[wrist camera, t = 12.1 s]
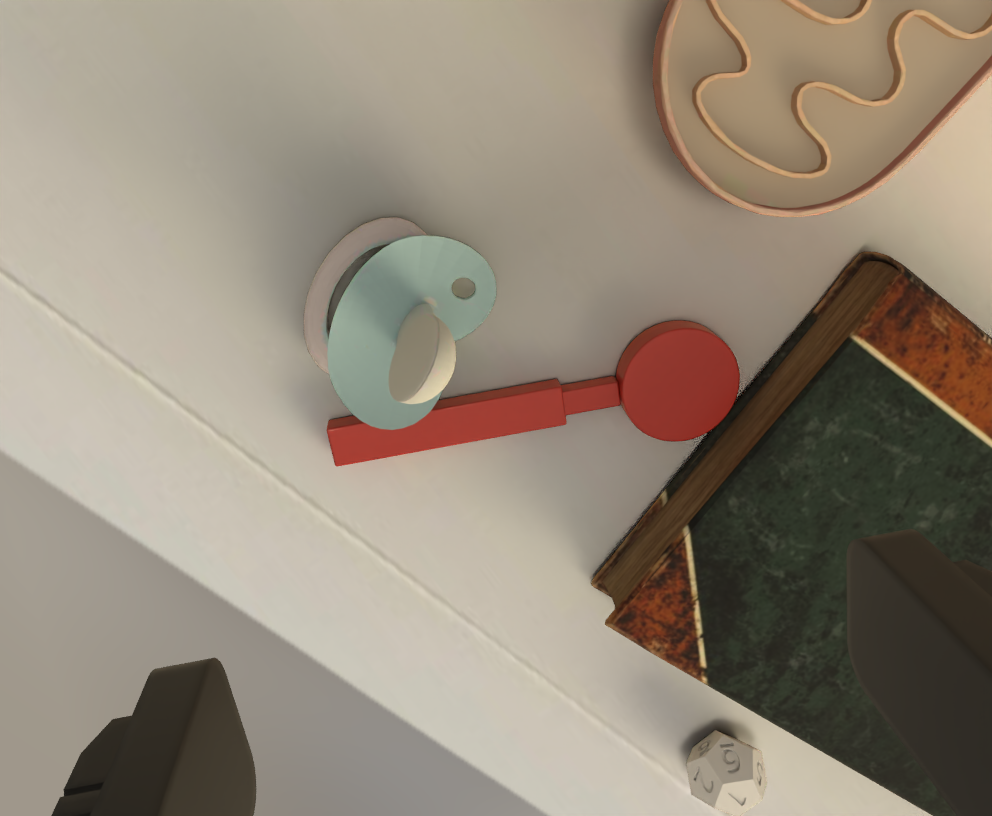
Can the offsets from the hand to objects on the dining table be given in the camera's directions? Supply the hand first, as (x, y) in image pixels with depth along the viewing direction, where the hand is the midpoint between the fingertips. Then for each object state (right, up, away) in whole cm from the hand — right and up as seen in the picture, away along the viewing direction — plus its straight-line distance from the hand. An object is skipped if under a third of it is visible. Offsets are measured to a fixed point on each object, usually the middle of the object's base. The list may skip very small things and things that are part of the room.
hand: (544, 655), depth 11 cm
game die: (+10, -13, +31) cm, 35 cm away
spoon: (+1, +3, +23) cm, 24 cm away
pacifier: (-5, +7, +22) cm, 23 cm away
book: (+18, -4, +28) cm, 34 cm away
